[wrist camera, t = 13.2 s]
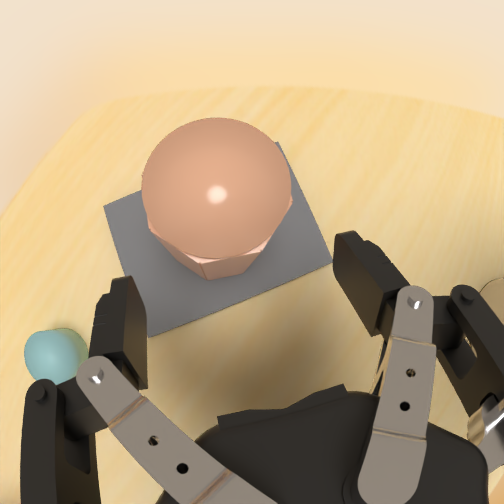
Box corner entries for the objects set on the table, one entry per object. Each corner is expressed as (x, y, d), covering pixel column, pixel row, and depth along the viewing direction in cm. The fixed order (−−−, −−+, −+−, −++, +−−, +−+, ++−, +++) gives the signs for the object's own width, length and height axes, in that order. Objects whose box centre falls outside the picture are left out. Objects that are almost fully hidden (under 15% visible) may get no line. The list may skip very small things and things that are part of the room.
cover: (249, 186, 23) (271, 109, 13) (268, 268, 22) (307, 240, 13) (167, 202, 22) (135, 132, 13) (182, 286, 22) (153, 271, 12)
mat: (276, 146, 25) (278, 141, 24) (329, 263, 24) (333, 261, 23) (106, 209, 23) (103, 206, 22) (150, 336, 22) (148, 337, 21)
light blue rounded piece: (78, 322, 21) (57, 323, 18) (96, 369, 21) (78, 379, 17) (40, 336, 21) (17, 339, 17) (58, 382, 20) (36, 392, 17)
